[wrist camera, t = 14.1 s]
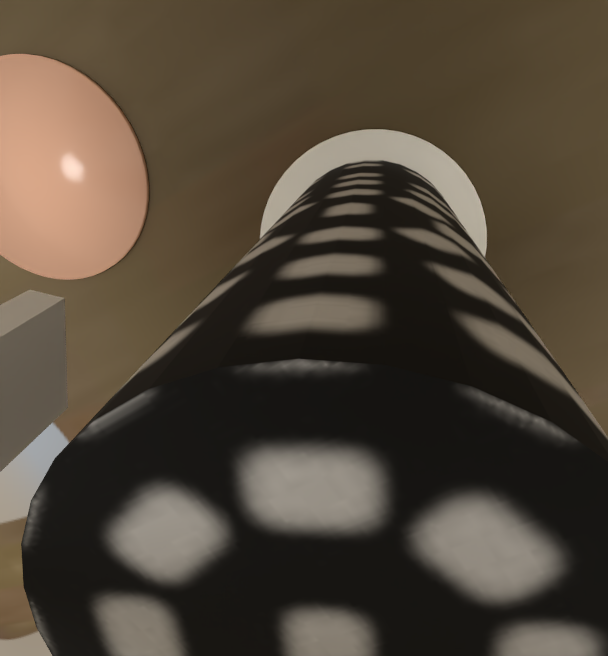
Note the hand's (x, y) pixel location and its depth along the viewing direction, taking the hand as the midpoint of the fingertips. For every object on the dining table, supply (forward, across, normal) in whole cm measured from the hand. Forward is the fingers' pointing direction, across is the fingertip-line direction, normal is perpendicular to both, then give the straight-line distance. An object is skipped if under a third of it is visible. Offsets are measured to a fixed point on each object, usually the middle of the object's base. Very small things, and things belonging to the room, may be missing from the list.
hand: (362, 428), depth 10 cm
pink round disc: (+16, -17, -1) cm, 23 cm away
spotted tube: (+16, 0, -1) cm, 16 cm away
